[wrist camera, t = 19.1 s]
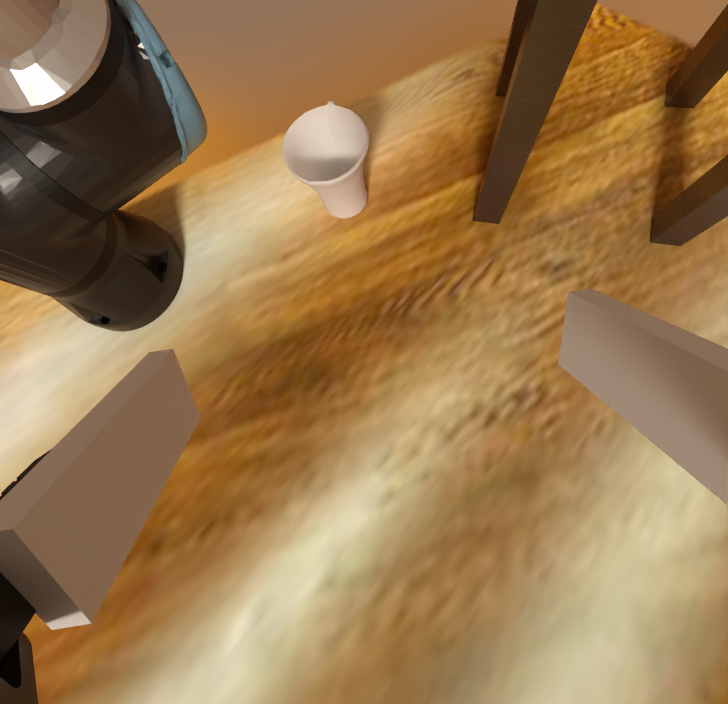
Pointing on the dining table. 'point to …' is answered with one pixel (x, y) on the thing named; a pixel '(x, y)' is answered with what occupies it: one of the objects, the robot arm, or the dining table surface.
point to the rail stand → (538, 89)
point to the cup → (330, 156)
